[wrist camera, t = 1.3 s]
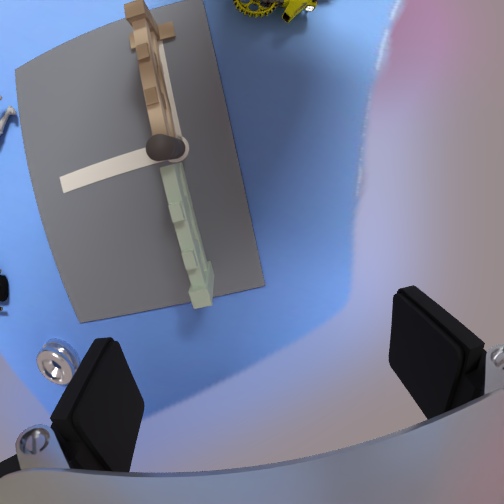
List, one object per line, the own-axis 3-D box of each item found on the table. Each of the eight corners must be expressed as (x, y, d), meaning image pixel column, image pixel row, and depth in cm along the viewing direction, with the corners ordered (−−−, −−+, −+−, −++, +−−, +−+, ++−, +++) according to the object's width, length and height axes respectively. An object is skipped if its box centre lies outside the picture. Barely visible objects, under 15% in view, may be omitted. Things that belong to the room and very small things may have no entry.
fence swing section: (169, 165, 26) (154, 169, 20) (185, 161, 26) (174, 163, 20) (199, 278, 29) (193, 309, 23) (214, 275, 29) (212, 305, 23)
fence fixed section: (200, 152, 26) (191, 152, 19) (155, 164, 26) (133, 168, 19) (173, 23, 22) (159, -11, 16) (130, 36, 22) (105, 7, 15)
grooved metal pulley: (45, 363, 32) (79, 377, 32) (35, 377, 29) (71, 393, 30) (44, 332, 30) (81, 347, 31) (33, 345, 27) (72, 362, 28)
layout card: (202, -3, 22) (201, -4, 21) (265, 284, 30) (265, 286, 30) (16, 70, 21) (14, 69, 21) (80, 322, 30) (79, 323, 30)
